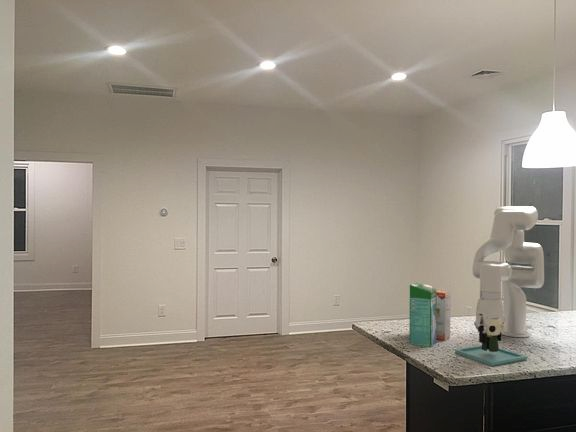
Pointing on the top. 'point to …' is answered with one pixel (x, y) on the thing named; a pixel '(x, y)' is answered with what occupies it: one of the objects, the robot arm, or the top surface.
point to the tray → (490, 356)
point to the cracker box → (443, 315)
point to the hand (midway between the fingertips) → (490, 341)
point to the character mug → (493, 335)
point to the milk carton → (422, 315)
